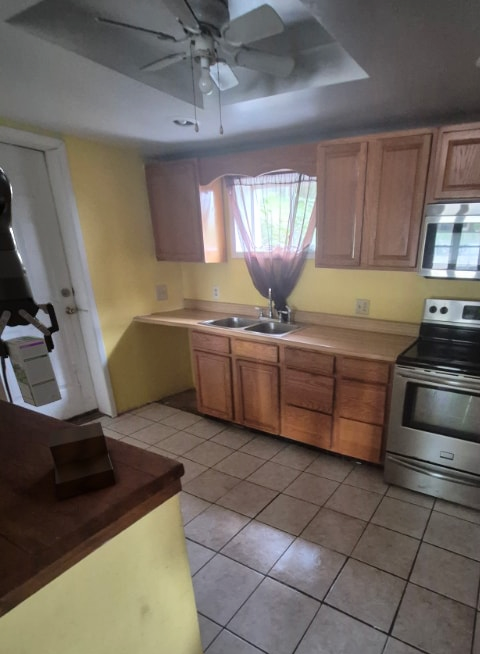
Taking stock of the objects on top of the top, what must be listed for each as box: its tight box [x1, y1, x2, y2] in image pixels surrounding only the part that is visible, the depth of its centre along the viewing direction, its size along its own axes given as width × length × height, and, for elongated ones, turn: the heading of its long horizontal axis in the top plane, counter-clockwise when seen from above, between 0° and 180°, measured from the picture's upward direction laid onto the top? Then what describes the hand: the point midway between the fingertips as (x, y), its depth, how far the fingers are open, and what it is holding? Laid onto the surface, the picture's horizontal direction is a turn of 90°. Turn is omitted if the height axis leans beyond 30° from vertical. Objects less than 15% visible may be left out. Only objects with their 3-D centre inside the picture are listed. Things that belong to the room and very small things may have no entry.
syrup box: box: [3, 335, 63, 408], centre depth 81 cm, size 6×6×14 cm
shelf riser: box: [49, 421, 117, 500], centre depth 87 cm, size 11×16×9 cm
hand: (28, 354), depth 80 cm, fingers closed on syrup box, 7 cm apart
